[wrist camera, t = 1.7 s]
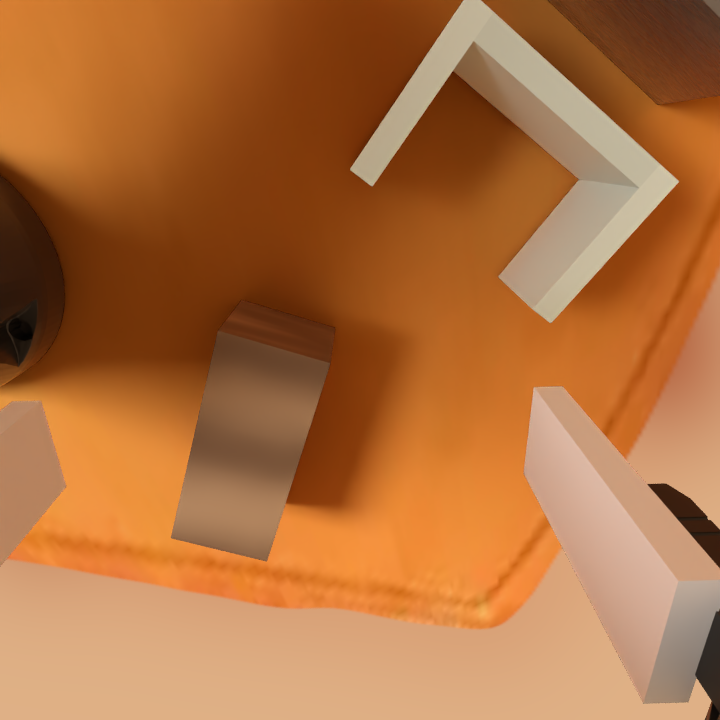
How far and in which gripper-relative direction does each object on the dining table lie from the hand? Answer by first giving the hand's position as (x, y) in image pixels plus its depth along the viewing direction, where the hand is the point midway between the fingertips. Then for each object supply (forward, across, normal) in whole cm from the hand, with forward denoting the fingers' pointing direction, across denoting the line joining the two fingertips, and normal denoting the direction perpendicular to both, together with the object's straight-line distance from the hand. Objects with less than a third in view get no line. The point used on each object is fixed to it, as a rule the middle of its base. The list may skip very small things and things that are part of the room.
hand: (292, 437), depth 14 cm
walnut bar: (+19, -5, -9) cm, 21 cm away
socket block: (+18, +9, +6) cm, 21 cm away
